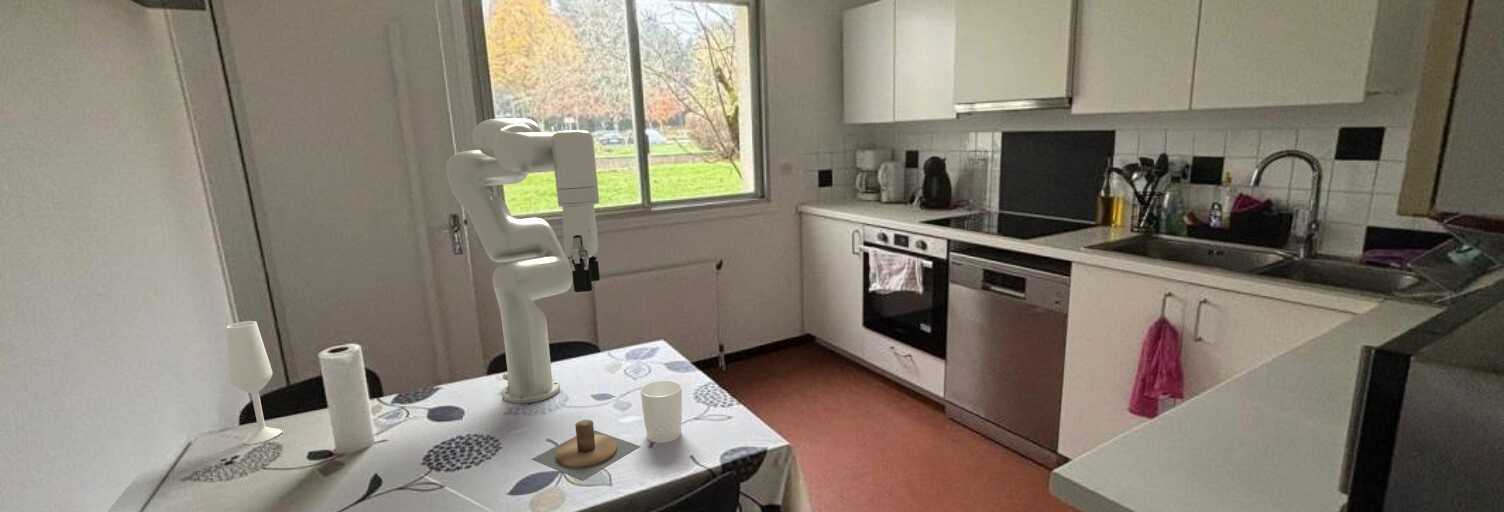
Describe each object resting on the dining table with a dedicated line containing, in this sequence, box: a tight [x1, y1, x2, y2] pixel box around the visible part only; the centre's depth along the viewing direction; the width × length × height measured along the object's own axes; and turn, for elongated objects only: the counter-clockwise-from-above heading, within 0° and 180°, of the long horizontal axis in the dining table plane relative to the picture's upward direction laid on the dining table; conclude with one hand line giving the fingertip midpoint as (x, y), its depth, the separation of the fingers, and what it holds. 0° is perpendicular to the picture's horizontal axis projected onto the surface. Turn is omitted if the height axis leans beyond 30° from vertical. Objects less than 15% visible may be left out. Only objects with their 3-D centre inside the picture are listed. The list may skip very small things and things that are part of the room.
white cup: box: [640, 380, 683, 444], centre depth 123 cm, size 8×8×10 cm
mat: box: [531, 429, 641, 481], centre depth 118 cm, size 14×14×1 cm
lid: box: [556, 419, 617, 468], centre depth 117 cm, size 11×11×6 cm
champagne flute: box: [226, 320, 283, 445], centre depth 127 cm, size 7×7×24 cm
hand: (587, 285), depth 122 cm, fingers open, 9 cm apart
